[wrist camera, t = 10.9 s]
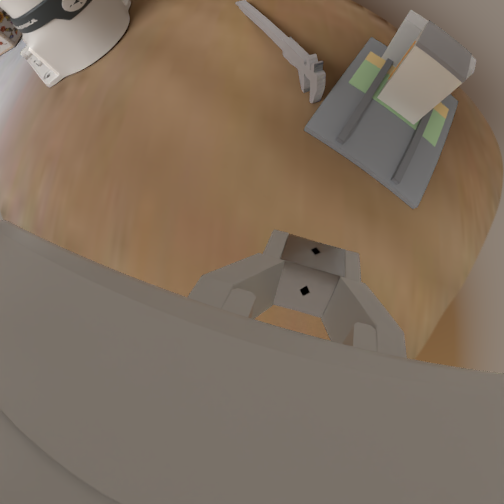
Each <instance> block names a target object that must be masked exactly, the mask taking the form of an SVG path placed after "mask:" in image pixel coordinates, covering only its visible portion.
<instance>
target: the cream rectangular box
mask: <svg viewBox="0 0 504 504" xmlns="http://www.w3.org/2000/svg"><path fill="white" fill-rule="evenodd" d="M471 56H472V54H471V53H470V52H469V51H468V50H467V49H465V48H464V47H463V46H462V45H461V44H459V43H458V42H457V41H456V40H455V39H453V38H452V37H451V36H450V35H449V34H447V33H446V32H445V31H443V30H442V29H441V28H439V27H438V26H437V25H435V24H434V23H432V22H431V21H430V20H429V21H428V23H427V24H426V25H425V27H424V28H423V30H422V31H421V32H420V34H419V35H418V37H417V38H416V40H415V41H414V42H413V44H412V45H411V47H410V48H409V49H408V51H407V52H406V54H405V55H404V56H403V58H402V59H401V61H400V62H399V63H398V65H397V66H396V68H395V69H394V70H393V72H392V73H391V75H390V76H389V78H388V80H387V82H386V83H385V85H384V87H383V88H382V90H381V92H380V94H379V95H378V97H377V98H378V99H379V100H381V101H382V102H384V103H385V104H387V105H388V106H389V107H391V108H392V109H393V110H395V111H396V112H397V113H399V114H400V115H401V116H403V117H404V118H405V119H407V120H408V121H409V122H410V123H412V124H413V125H414V124H415V123H416V122H418V121H419V120H420V119H421V118H422V117H423V116H425V115H426V114H427V113H428V112H429V111H430V110H432V109H433V108H434V107H435V106H436V105H438V104H439V103H440V102H441V101H442V100H443V99H445V98H446V97H447V96H448V95H449V94H450V93H452V92H453V91H454V90H455V89H456V88H457V87H459V86H460V85H461V84H462V83H463V82H464V81H465V80H466V78H467V74H468V70H469V65H470V60H471Z"/></svg>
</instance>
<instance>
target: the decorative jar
mask: <svg viewBox="0 0 504 504" xmlns="http://www.w3.org/2000/svg"><path fill="white" fill-rule="evenodd" d="M10 18H11V16H10V15H8V14H7V13H6V12H5V11H4V10H3V9H2V8H0V55H2V54H4V53H6V52H7V51H9V50H10V49H12V48H14V47H15V46H16V44H17V43H18V41H19V39H20V38H21V36H22V32H20V31H19V30H18V29H17V28H15V26H14V25H13V23H12V22H11V20H10Z"/></svg>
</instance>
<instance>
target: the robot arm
mask: <svg viewBox="0 0 504 504" xmlns="http://www.w3.org/2000/svg"><path fill="white" fill-rule="evenodd" d="M130 5H131V1H130V0H0V8H2V9H3V10H4V11H5V12H6V13H7V14H8V15H10V16H11V18H10V20H11V22H12V23H13V25H14V26H15V28H17V29H18V30H19V31H20V32H22V40H23V41H24V42H25V43H26V44H27V45H26V47H24V49H23V50H22V51H21V52H20V54H21V55H22V56H23V57H24V58H25V59H26V60H27V61H28V62H29V64H30V65H31V66H32V68H33V69H34V70H35V72H36V73H37V74H38V75H39V77H40V78H41V79H42V81H43V82H44V83H45V84H46V85H47V86H48V87H51V86H53V85H55V84H56V83H58V82H59V81H60V80H61V79H63V78H64V77H66V76H68V75H71V74H73V73H76V72H78V71H80V70H82V69H84V68H86V67H88V66H89V65H91V64H92V63H94V62H95V61H97V60H98V59H99V58H101V57H102V56H103V55H104V54H106V53H107V52H108V51H109V50H110V49H111V48H112V47H113V46H114V45H115V44H116V43H117V42H118V41H119V39H120V38H121V37H122V36H123V34H124V33H125V31H126V29H127V27H128V25H129V21H130V17H129V13H128V9H129V7H130ZM273 304H274V305H277V306H281V307H285V308H289V309H293V310H297V311H300V312H303V313H306V314H310V315H313V316H316V317H320V318H321V320H322V322H323V324H324V326H325V329H326V331H327V333H328V335H329V337H330V340H331V341H329V340H325V339H321V338H318V337H314V336H310V335H306V334H303V333H299V332H295V331H292V330H288V329H285V328H281V327H278V326H274V325H271V324H268V323H264V322H261V321H258V320H254V318H256V317H257V316H259V315H260V314H261V313H263V312H264V311H266V310H267V309H268V308H270V307H271V306H272V305H273ZM0 504H504V373H496V372H488V371H480V370H472V369H466V368H459V367H452V366H447V365H441V364H434V363H429V362H423V361H419V360H413V359H408V358H407V357H406V347H405V338H404V332H403V331H402V330H401V328H400V327H399V326H398V324H397V323H396V322H395V320H394V319H393V318H392V317H391V315H390V314H389V313H388V311H387V310H386V309H385V308H384V306H383V305H382V304H381V303H380V301H379V300H378V299H377V298H376V296H375V295H374V294H373V293H372V291H371V290H370V289H369V288H368V286H367V285H366V284H365V283H362V282H361V272H360V257H359V254H358V253H356V252H352V251H348V250H345V249H341V248H337V247H333V246H330V245H326V244H322V243H318V242H316V241H312V240H309V239H306V238H303V237H299V236H296V235H293V234H288V233H287V232H283V231H279V230H273V232H272V234H271V237H270V239H269V241H268V243H267V246H266V248H265V250H264V252H263V254H260V253H257V254H255V255H252V256H250V257H247V258H245V259H242V260H240V261H237V262H235V263H232V264H230V265H227V266H225V267H222V268H220V269H217V270H215V271H212V272H210V273H207V274H205V275H202V276H201V278H200V279H199V281H198V282H197V284H196V285H195V287H194V288H193V290H192V291H191V293H190V294H189V296H188V297H185V296H182V295H179V294H176V293H174V292H171V291H168V290H165V289H163V288H160V287H157V286H155V285H152V284H149V283H147V282H144V281H141V280H139V279H136V278H134V277H131V276H129V275H126V274H124V273H121V272H119V271H116V270H114V269H111V268H109V267H106V266H104V265H102V264H99V263H97V262H94V261H92V260H90V259H87V258H85V257H83V256H80V255H78V254H76V253H74V252H71V251H69V250H67V249H65V248H62V247H60V246H58V245H56V244H54V243H52V242H49V241H47V240H45V239H43V238H41V237H39V236H37V235H35V234H33V233H31V232H29V231H26V230H24V229H22V228H20V227H18V226H17V225H15V224H13V223H11V222H9V221H7V220H0Z"/></svg>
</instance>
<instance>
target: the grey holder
mask: <svg viewBox="0 0 504 504" xmlns="http://www.w3.org/2000/svg"><path fill="white" fill-rule="evenodd" d="M427 23H428V21H427V20H426V19H424V18H423V17H421V16H420V15H418V14H417V13H415V12H414V11H412V10H410V12H409V13H408V15H407V16H406V18H405V19H404V21H403V22H402V24H401V26H400V27H399V29H398V31H397V32H396V34H395V36H394V37H393V39H392V41H391V42H390V44H389V46H388V47H387V46H385V45H384V44H382V43H381V42H379V41H377V40H376V39H374V38H372V37H371V38H370V39H369V41H368V42H367V43H366V45H365V46H364V47H363V49H362V50H361V51H360V53H359V54H358V55H357V57H356V58H355V59H354V60H353V62H352V63H351V64H350V66H349V67H348V68H347V70H346V71H345V73H344V74H343V75H342V77H341V78H340V79H339V81H338V82H337V83H336V85H335V86H334V87H333V89H332V90H331V91H330V93H329V94H328V96H327V97H326V98H325V100H324V101H323V102H322V104H321V105H320V107H319V108H318V109H317V111H316V112H315V114H314V115H313V116H312V118H311V119H310V121H309V122H308V123H307V125H306V126H305V129H304V131H306V132H307V133H309V134H311V135H312V136H314V137H315V138H317V139H319V140H320V141H322V142H323V143H325V144H326V145H328V146H329V147H331V148H332V149H334V150H335V151H337V152H338V153H340V154H341V155H343V156H344V157H346V158H347V159H349V160H350V161H352V162H353V163H354V164H356V165H357V166H359V167H360V168H361V169H363V170H364V171H365V172H367V173H368V174H370V175H371V176H372V177H374V178H375V179H376V180H377V181H379V182H380V183H381V184H383V185H384V186H385V187H387V188H388V189H389V190H390V191H392V192H393V193H394V194H395V195H397V196H398V197H399V198H400V199H402V200H403V201H404V202H405V203H406V204H408V205H409V206H410V207H411V208H412V209H414V208H417V207H418V205H419V203H420V201H421V198H422V196H423V194H424V192H425V190H426V187H427V185H428V183H429V180H430V178H431V176H432V173H433V171H434V169H435V166H436V164H437V161H438V159H439V156H440V154H441V151H442V148H443V146H444V143H445V140H446V138H447V135H448V132H449V129H450V126H451V123H452V120H453V117H454V114H455V111H456V108H457V104H458V101H457V100H456V99H455V98H454V97H453V96H452V95H451V94H449V95H448V96H447V97H446V98H445V99H443V100H442V101H441V102H440V103H439V104H438V105H436V106H435V107H434V108H433V109H432V110H430V111H429V112H428V113H427V114H426V115H425V116H423V117H422V118H421V119H420V120H419V121H418V122H416V123H415V124H414V125H413V124H412V123H410V122H409V121H408V120H407V119H405V118H404V117H403V116H401V115H400V114H399V113H397V112H396V111H395V110H393V109H392V108H391V107H389V106H388V105H387V104H385V103H384V102H382V101H381V100H379V99H378V98H377V97H378V95H379V94H380V92H381V90H382V88H383V87H384V85H385V83H386V82H387V80H388V78H389V76H390V75H391V73H392V72H393V70H394V69H395V68H396V66H397V65H398V63H399V62H400V61H401V59H402V58H403V56H404V55H405V54H406V52H407V51H408V49H409V48H410V47H411V45H412V44H413V42H414V41H415V40H416V38H417V37H418V35H419V34H420V32H421V31H422V30H423V28H424V27H425V25H426V24H427ZM475 64H476V59H475V58H474V57H473V56H471V60H470V65H469V70H468V74H467V78H468V77H469V76H471V75H472V74H473V73H474V69H475ZM467 78H466V79H467Z"/></svg>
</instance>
